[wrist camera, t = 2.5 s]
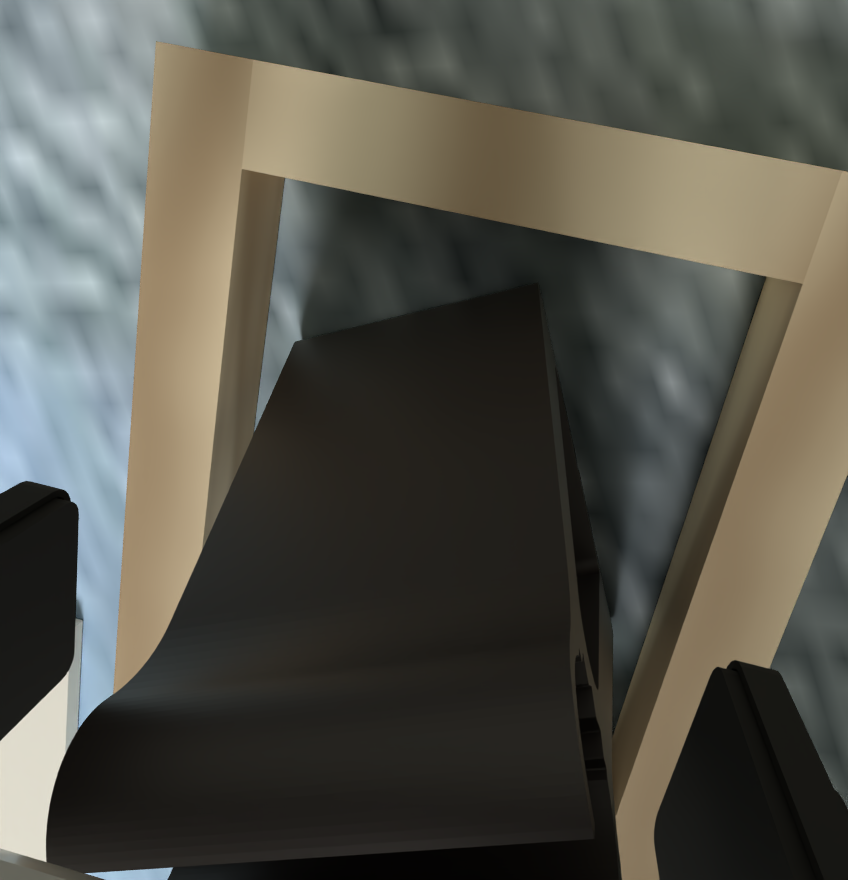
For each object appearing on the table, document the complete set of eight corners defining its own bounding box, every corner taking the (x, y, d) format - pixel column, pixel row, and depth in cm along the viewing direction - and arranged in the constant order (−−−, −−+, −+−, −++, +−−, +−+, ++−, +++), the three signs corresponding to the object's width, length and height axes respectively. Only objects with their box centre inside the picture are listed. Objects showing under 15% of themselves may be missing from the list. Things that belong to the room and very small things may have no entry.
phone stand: (300, 337, 18) (-109, 539, 7) (540, 280, 17) (501, 419, 6) (392, 653, 21) (189, 1188, 9) (612, 626, 19) (683, 1214, 8)
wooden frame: (900, 195, 15) (961, 193, 13) (659, 828, 21) (672, 907, 18) (212, 64, 17) (155, 41, 15) (157, 684, 22) (110, 740, 20)
